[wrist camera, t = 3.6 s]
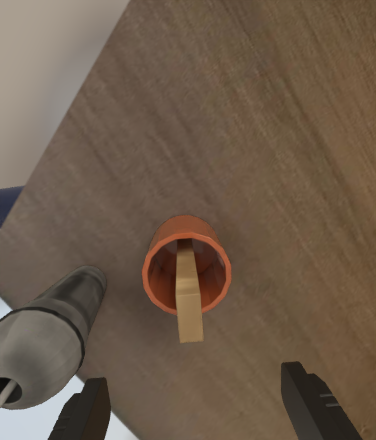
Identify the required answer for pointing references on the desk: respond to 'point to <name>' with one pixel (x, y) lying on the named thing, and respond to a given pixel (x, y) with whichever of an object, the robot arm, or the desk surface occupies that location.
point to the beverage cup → (48, 339)
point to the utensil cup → (204, 258)
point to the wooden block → (188, 294)
